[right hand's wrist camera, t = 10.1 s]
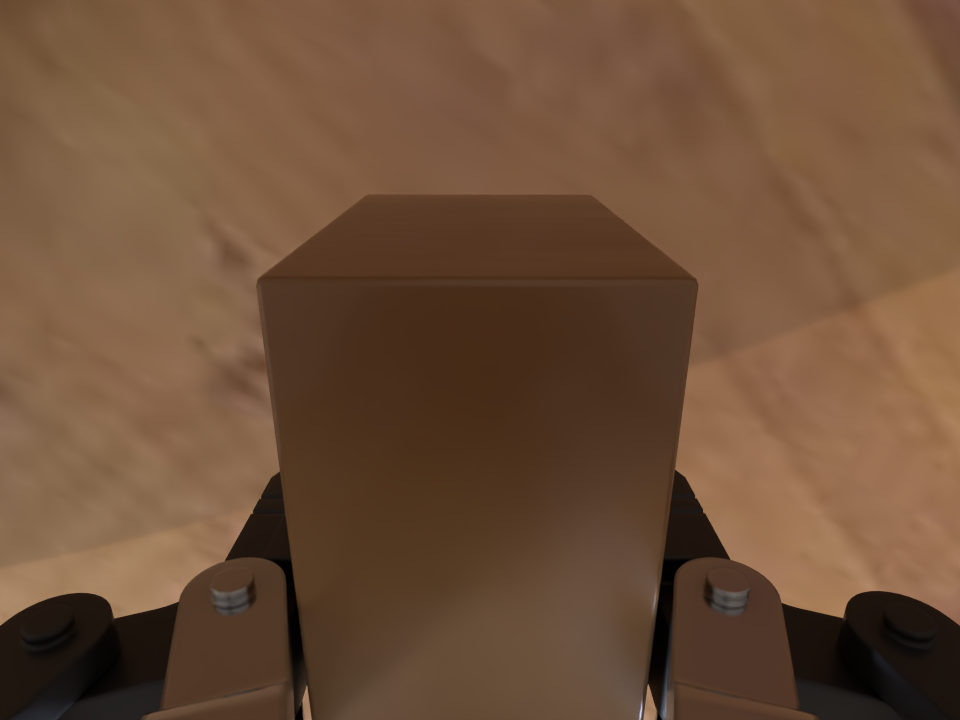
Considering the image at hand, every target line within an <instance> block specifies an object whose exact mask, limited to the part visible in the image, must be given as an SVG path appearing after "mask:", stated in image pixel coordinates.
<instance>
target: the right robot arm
mask: <svg viewBox="0 0 960 720" xmlns="http://www.w3.org/2000/svg"><path fill="white" fill-rule="evenodd" d="M648 684H649V686H650V690H651V693H652V697H653V700H654V704H655V707H656V709H657V710H656V717H655V720H960V626H959V625H958V624H957V623H955V622H954V621H953V620H951V619H950V618H949V617H947V616H946V615H944V614H943V613H941V612H940V611H938V610H937V609H935V608H933V607H931V606H929V605H927V604H925V603H923V602H921V601H919V600H916V599H913V598H911V597H908V596H904V595H901V594H896V593H891V592H883V591H869V592H863V593H860V594H857V595H855V596H854V597H852V598H851V599H850V600H849V602H848V603H847V606H846V609H845V613H844V617H843V618H840V617H835V616H831V615H826V614H822V613H818V612H813V611H809V610H804V609H800V608H796V607H792V606H789V605H786V604H783V603H781V599H780V596H779V593H778V592H777V590H776V588H775V587H774V586H773V584H772V583H771V582H770V581H769V580H768V579H767V578H766V577H764V576H763V575H762V574H760V573H759V572H757V571H756V570H754V569H752V568H750V567H748V566H746V565H744V564H741V563H738V562H735V561H732V560H730V558H729V556H728V554H727V552H726V551H725V549H724V547H723V545H722V543H721V542H720V540H719V538H718V536H717V534H716V532H715V531H714V529H713V527H712V525H711V523H710V522H709V520H708V518H707V516H706V514H705V513H703V509H702V507H701V505H700V503H699V502H698V500H697V499H695V494H694V492H693V491H692V489H691V487H690V485H689V483H688V482H687V480H686V478H685V477H684V476H683V475H681V474H680V473H679V472H677V471H676V470H675V473H674V481H673V488H672V496H671V504H670V512H669V520H668V528H667V536H666V544H665V551H664V559H663V567H662V575H661V583H660V591H659V599H658V607H657V614H656V622H655V630H654V638H653V646H652V654H651V662H650V669H649V677H648ZM306 686H307V678H306V670H305V662H304V655H303V647H302V639H301V631H300V623H299V616H298V608H297V600H296V592H295V584H294V577H293V569H292V561H291V553H290V545H289V538H288V530H287V522H286V514H285V506H284V499H283V491H282V483H281V475H280V472H279V473H277V474H276V475H275V476H273V477H272V478H271V479H270V481H269V483H268V485H267V486H266V488H265V490H264V492H263V494H262V495H261V499H259V501H258V503H257V504H256V506H255V508H254V510H253V514H251V515H250V517H249V519H248V520H247V522H246V524H245V526H244V528H243V529H242V531H241V533H240V535H239V536H238V538H237V540H236V542H235V544H234V545H233V547H232V549H231V551H230V553H229V554H228V556H227V558H226V560H225V562H222V563H219V564H216V565H214V566H212V567H210V568H208V569H206V570H204V571H203V572H201V573H200V574H198V575H197V576H196V577H194V578H193V579H192V580H191V581H190V582H189V583H188V584H187V586H186V587H185V588H184V590H183V592H182V593H181V596H180V599H179V602H177V603H174V604H172V605H169V606H166V607H162V608H159V609H155V610H150V611H146V612H141V613H137V614H133V615H128V616H124V617H119V618H115V619H114V616H113V613H112V609H111V606H110V604H109V603H108V601H107V600H105V599H104V598H102V597H101V596H98V595H95V594H89V593H73V594H66V595H61V596H57V597H53V598H50V599H47V600H44V601H41V602H39V603H36V604H34V605H32V606H30V607H28V608H26V609H24V610H23V611H21V612H19V613H17V614H16V615H14V616H13V617H11V618H10V619H9V620H7V621H6V622H5V623H3V624H2V625H1V626H0V720H305V717H304V710H303V702H302V699H303V696H304V693H305V689H306Z"/></svg>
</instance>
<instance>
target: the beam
mask: <svg viewBox="0 0 960 720" xmlns="http://www.w3.org/2000/svg"><path fill="white" fill-rule="evenodd" d="M256 288H257V296H258V304H259V311H260V319H261V327H262V335H263V343H264V350H265V358H266V366H267V374H268V382H269V389H270V397H271V405H272V413H273V421H274V428H275V436H276V444H277V452H278V460H279V467H280V475H281V483H282V491H283V499H284V506H285V514H286V522H287V530H288V538H289V545H290V553H291V561H292V569H293V577H294V584H295V592H296V600H297V608H298V616H299V623H300V631H301V639H302V647H303V655H304V662H305V670H306V678H307V686H308V694H309V701H310V709H311V717H312V720H643V717H644V709H645V701H646V693H647V685H648V677H649V669H650V662H651V654H652V646H653V638H654V630H655V622H656V614H657V607H658V599H659V591H660V583H661V575H662V567H663V559H664V551H665V544H666V536H667V528H668V520H669V512H670V504H671V496H672V488H673V481H674V473H675V465H676V457H677V449H678V441H679V433H680V426H681V418H682V410H683V402H684V394H685V386H686V378H687V370H688V363H689V355H690V347H691V339H692V331H693V323H694V315H695V307H696V300H697V292H698V283H697V280H696V278H694V277H693V276H692V275H691V274H689V273H688V272H687V271H686V270H684V269H683V268H682V267H681V266H679V265H678V264H677V263H676V262H674V261H673V260H672V259H670V258H669V257H668V256H667V255H665V254H664V253H663V252H662V251H660V250H659V249H658V248H657V247H655V246H654V245H653V244H652V243H650V242H649V241H648V240H647V239H645V238H644V237H643V236H642V235H640V234H639V233H638V232H637V231H635V230H634V229H633V228H632V227H630V226H629V225H628V224H627V223H625V222H624V221H623V220H622V219H620V218H619V217H618V216H617V215H615V214H614V213H613V212H612V211H610V210H609V209H608V208H606V207H605V206H604V205H603V204H601V203H600V202H599V201H598V200H596V199H595V198H594V197H593V196H590V195H367V196H365V197H364V198H362V199H361V200H360V201H359V202H357V203H356V204H355V205H353V206H352V207H351V208H349V209H348V210H347V211H345V212H344V213H343V214H342V215H340V216H339V217H338V218H336V219H335V220H334V221H332V222H331V223H330V224H328V225H327V226H326V227H325V228H323V229H322V230H321V231H319V232H318V233H317V234H315V235H314V236H313V237H312V238H310V239H309V240H308V241H306V242H305V243H304V244H302V245H301V246H300V247H298V248H297V249H296V250H295V251H293V252H292V253H291V254H289V255H288V256H287V257H285V258H284V259H283V260H282V261H280V262H279V263H278V264H276V265H275V266H274V267H272V268H271V269H270V270H268V271H267V272H266V273H265V274H263V275H262V276H261V277H259V278H258V280H257V284H256Z"/></svg>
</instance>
